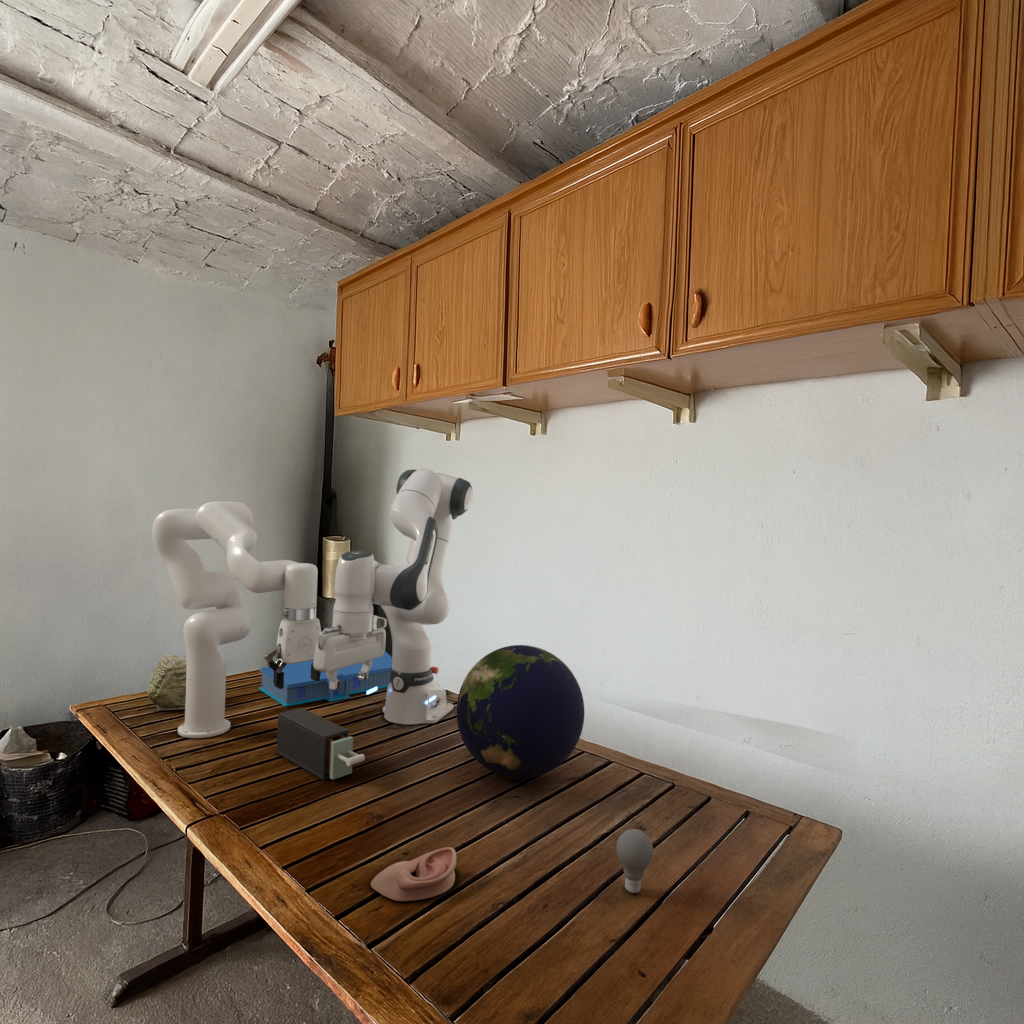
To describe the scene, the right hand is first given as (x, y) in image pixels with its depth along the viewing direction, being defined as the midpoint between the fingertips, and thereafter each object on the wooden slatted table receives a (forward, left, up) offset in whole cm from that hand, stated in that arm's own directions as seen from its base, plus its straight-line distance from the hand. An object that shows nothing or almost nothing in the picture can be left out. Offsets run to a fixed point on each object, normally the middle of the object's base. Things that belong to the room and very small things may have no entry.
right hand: (349, 683), depth 143 cm
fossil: (-10, -71, -21) cm, 75 cm away
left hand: (-3, -19, -4) cm, 20 cm away
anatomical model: (+23, +37, -21) cm, 49 cm away
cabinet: (-2, -12, -21) cm, 25 cm away
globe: (-23, +32, -21) cm, 45 cm away
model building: (-47, -49, -21) cm, 71 cm away
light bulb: (+6, +69, -21) cm, 72 cm away
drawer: (0, -6, -20) cm, 21 cm away
